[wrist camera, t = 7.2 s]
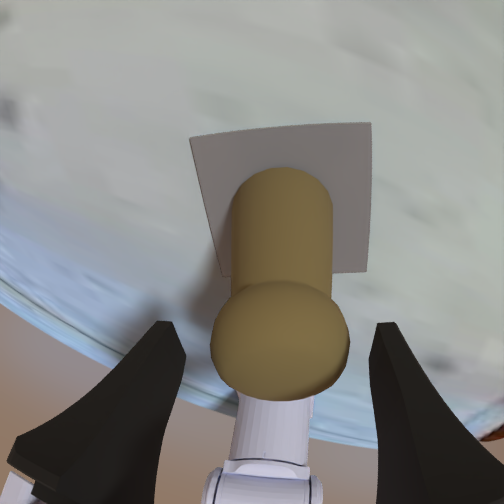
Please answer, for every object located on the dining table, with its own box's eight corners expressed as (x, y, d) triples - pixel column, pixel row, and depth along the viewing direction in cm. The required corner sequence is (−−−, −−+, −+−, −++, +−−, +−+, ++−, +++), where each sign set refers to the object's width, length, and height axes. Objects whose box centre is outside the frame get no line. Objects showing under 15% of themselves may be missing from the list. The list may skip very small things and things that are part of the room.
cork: (231, 249, 21) (199, 410, 12) (231, 163, 17) (179, 324, 8) (324, 257, 21) (340, 418, 12) (341, 172, 17) (393, 338, 8)
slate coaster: (363, 261, 22) (366, 271, 21) (225, 266, 24) (222, 276, 23) (366, 118, 16) (371, 123, 15) (195, 132, 18) (189, 138, 17)
